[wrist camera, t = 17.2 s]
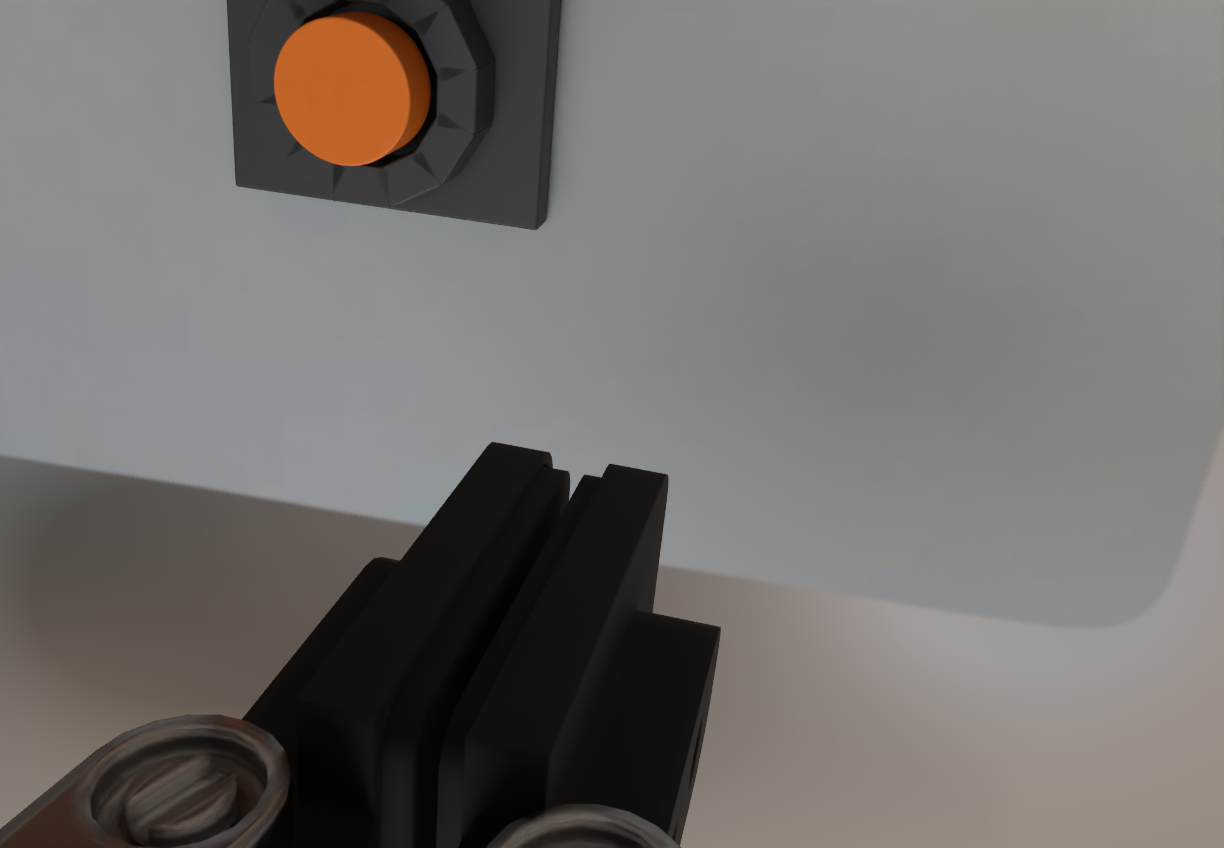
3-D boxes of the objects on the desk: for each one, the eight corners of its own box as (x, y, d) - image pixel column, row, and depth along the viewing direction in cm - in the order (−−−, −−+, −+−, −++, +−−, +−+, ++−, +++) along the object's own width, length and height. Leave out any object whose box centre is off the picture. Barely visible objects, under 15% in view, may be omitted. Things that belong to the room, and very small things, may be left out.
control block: (565, -50, 33) (539, -46, 31) (546, 221, 37) (521, 247, 34) (241, -86, 35) (188, -85, 32) (252, 178, 38) (206, 200, 35)
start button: (433, 19, 32) (411, 25, 31) (429, 162, 34) (408, 175, 32) (298, 3, 33) (270, 8, 31) (302, 144, 35) (275, 156, 33)
